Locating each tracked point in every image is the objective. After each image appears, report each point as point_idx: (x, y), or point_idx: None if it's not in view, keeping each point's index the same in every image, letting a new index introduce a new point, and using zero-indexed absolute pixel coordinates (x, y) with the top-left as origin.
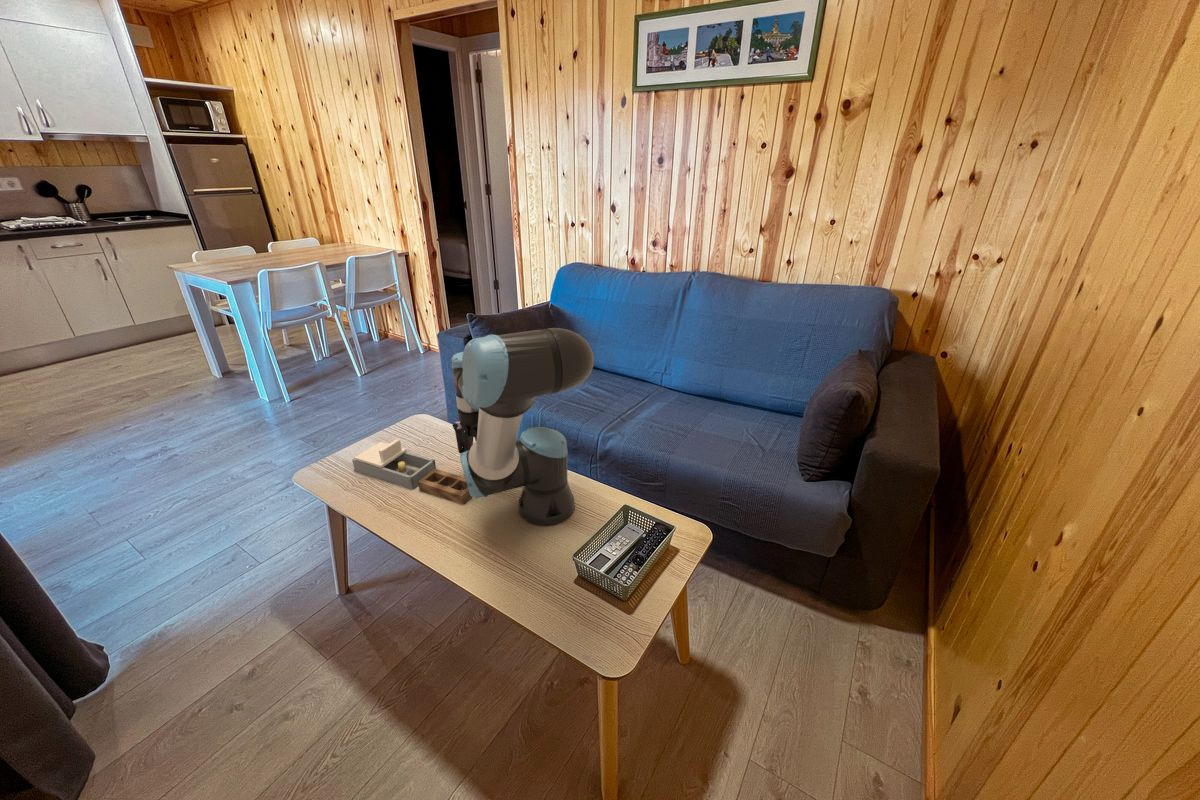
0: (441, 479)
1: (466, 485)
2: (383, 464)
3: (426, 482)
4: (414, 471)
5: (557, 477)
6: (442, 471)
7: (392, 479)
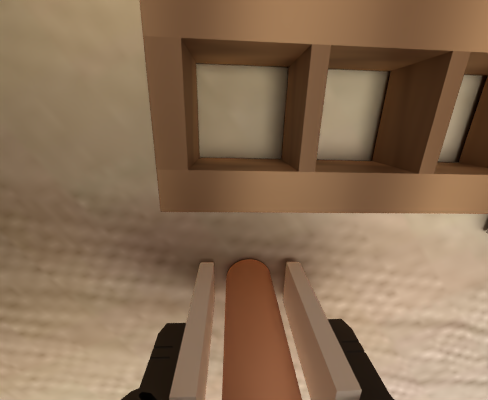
0: (443, 119)
1: (240, 165)
2: None
3: None
4: None
5: None
6: (474, 206)
7: None
